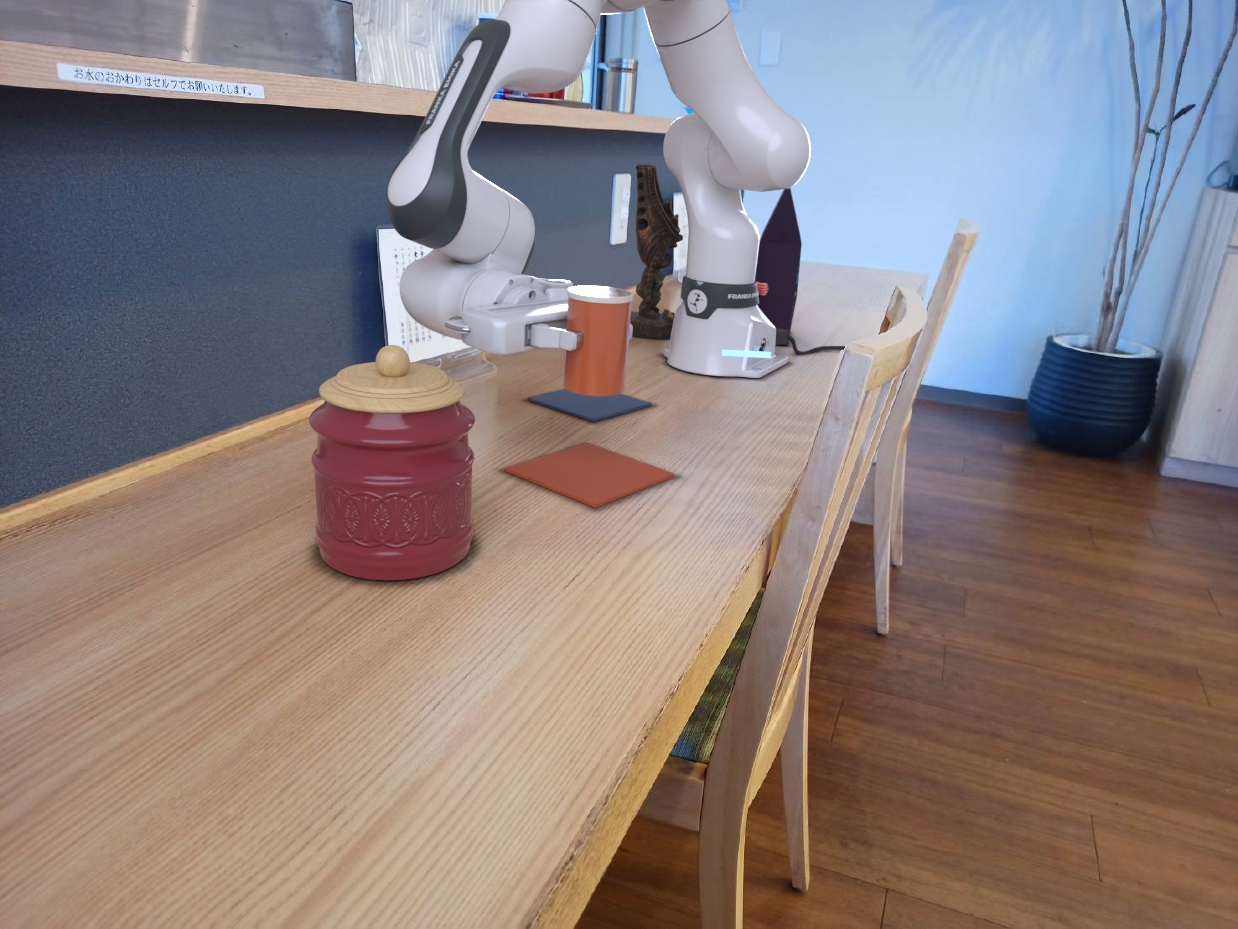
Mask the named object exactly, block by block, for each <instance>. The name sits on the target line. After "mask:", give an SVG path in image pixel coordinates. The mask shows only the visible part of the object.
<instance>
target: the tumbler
mask: <svg viewBox="0 0 1238 929" xmlns="http://www.w3.org/2000/svg"><path fill="white" fill-rule="evenodd" d="M567 296H568V308H567V326H566V329H573V330H576V331H580V332H582V333H583V340H582V342H583V347H582V348H581V349H577V350H572V351H568V350H565V349H564V363H563V364H564V365H563V380H562V381H563V384H562V386H563V389H566V390H568V391H570V392H573V393H577V394H581V395H587V396H613V395H618V394H623V393H624V392H625V390H626V377H627V364H628V353H629V352H628V351H629V341H630V340H629V328H630V316H631V311H632V302H633V300H634V293H633V292H631V291H629V290H626V289H623V288H617V287H610V286H601V285H577V286H576V285H575V286H573V287H571V288H568V290H567Z"/></svg>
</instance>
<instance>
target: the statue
mask: <svg viewBox="0 0 1238 929" xmlns="http://www.w3.org/2000/svg"><path fill="white" fill-rule="evenodd" d="M657 167H658V166H657V165H653V164H637V165H636V166H635V170H636V182H637V183H636V198H637V199H636V215H635V235H636V249H637V253H638V256H639V258H640V261H641V262H642V263H643V264H644V265H645V267H644V268H643V271H642V274H641V278H640V282H638V283H637V284H636V287H635V294H637V295H638V297H640V298H641V299H642V301H641V302H640V304H639V306H638V311H632V310H631V316H630V323H631V324H632V326H633V333H632V336H635V337H641V338H646V339H656V340H666V339H669V340H670V339H671V333H672V328H673V322H674V317H675V312H673V311H670V310H669V309H666V308H664V310H663V311H662V312H660V308H659V307H658V304H659V303H660V301H661V300H662V299H661V297H662V292H661V289H662V288H663V286H664V281H665V279H666V275H665V274H664V273H663V271H661V270H662V269H665V268H667V267H669V266H670V265H671V263H672V261H673V259H674V255H675V254H674V253H669V250H668V249H670V248H671V249H676V248H677V247H678V243H680V242H682V241H683V240H684V235H683V234H681V228H680V227H679V218H680V215H679V214H678V213H676V214H674V211H673V207H672V203H673V201H672V200H667V201H665V200H664V198H663V194H662V192H661V187H660V183H659V182H660V181H659V178H658V170H657Z"/></svg>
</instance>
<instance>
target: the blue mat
mask: <svg viewBox="0 0 1238 929" xmlns="http://www.w3.org/2000/svg"><path fill="white" fill-rule="evenodd" d="M527 401H528V402H532V403H534V404H538V405H541V406H543V407H547V408H549V409H552V410H555V411H559V412H561V413H564V414H568V415H571V416H574V417H576V418H580V419H583V420H585V421H589V422H592V423H595V422H599V421H602V420H605V419H606V420H607V419H609V418H612V417H616V416H619V415H624V414H627V413H631V412H633V411H638V410H641V409H644V408H648V407H652V402H650V401H646V400H643V399H640V398H637V397H632V396H630V395H626V394H624V393H621V394H618V395H613V396H587V395H581V394H577V393H573V392H570V391H568V390H566V389H565V388H562V389H558V390H555V391H551V392H550V391H549V392H545V393H542V394H538V395H533V396H529V397H527Z"/></svg>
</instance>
